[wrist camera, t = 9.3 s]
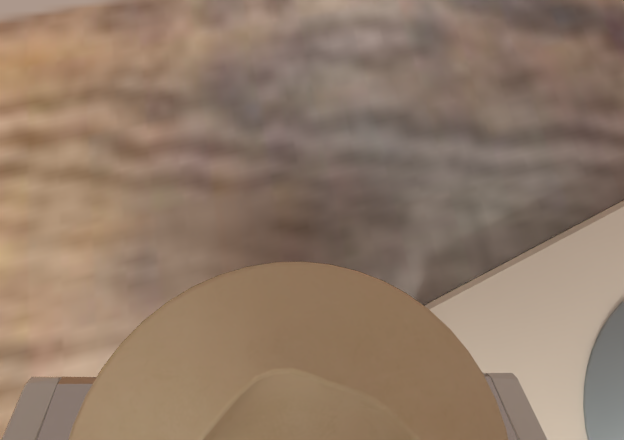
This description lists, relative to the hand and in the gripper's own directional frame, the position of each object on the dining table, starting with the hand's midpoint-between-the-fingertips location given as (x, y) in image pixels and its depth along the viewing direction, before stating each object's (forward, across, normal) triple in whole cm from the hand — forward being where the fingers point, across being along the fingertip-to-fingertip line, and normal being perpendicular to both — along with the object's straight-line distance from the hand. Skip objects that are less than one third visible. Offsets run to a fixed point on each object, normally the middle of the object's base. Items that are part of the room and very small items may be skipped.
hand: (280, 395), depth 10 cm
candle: (+3, 0, +4) cm, 5 cm away
